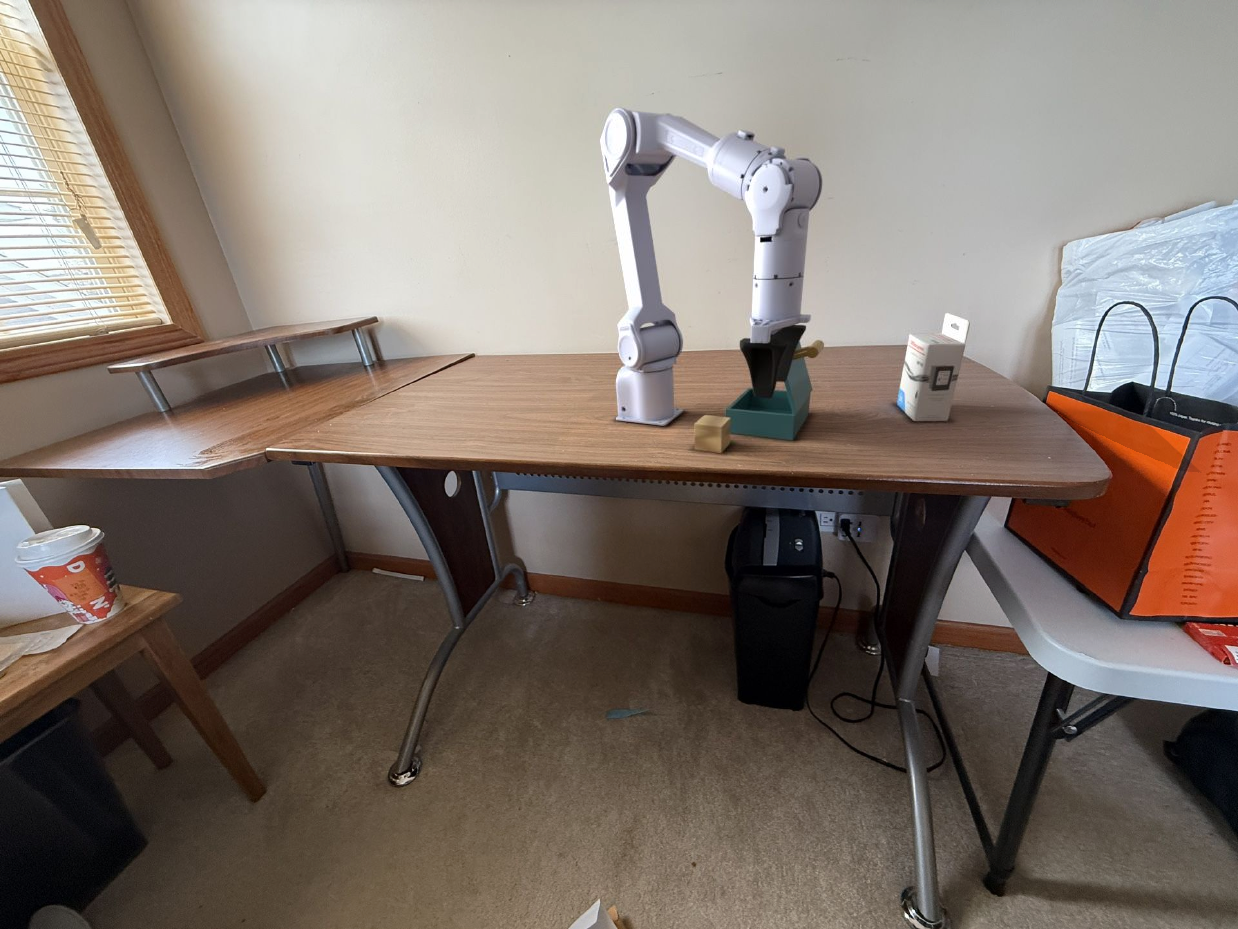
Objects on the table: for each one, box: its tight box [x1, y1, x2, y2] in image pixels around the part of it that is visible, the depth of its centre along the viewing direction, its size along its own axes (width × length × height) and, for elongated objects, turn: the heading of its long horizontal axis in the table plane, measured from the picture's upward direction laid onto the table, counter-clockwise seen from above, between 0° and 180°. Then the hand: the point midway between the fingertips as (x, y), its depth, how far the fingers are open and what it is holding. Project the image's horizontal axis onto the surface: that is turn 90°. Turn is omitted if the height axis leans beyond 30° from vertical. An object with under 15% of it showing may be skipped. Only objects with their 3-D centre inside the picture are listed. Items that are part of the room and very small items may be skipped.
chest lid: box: [783, 339, 825, 414], centre depth 70 cm, size 11×12×5 cm
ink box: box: [896, 312, 971, 422], centre depth 73 cm, size 9×5×15 cm, turn 168°
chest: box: [724, 387, 812, 441], centre depth 76 cm, size 10×12×4 cm
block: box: [694, 414, 731, 454], centre depth 69 cm, size 4×4×4 cm
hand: (770, 388), depth 62 cm, fingers open, 7 cm apart
